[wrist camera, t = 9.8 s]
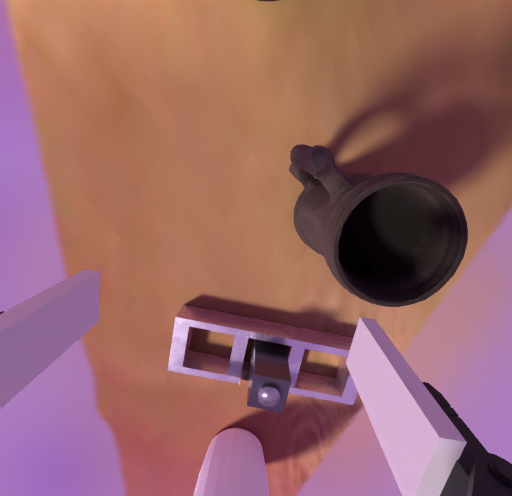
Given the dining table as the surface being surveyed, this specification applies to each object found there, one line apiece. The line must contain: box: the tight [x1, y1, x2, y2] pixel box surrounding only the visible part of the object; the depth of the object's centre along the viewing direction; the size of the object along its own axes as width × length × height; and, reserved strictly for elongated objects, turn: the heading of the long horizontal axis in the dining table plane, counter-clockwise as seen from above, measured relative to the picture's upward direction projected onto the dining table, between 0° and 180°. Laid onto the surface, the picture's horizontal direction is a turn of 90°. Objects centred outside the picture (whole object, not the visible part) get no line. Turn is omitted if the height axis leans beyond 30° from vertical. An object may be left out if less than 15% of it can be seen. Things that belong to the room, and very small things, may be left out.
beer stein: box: [289, 144, 468, 307], centre depth 29 cm, size 15×11×20 cm
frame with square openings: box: [168, 305, 358, 405], centre depth 41 cm, size 8×28×4 cm, turn 78°
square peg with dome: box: [247, 339, 291, 412], centre depth 38 cm, size 4×4×11 cm
